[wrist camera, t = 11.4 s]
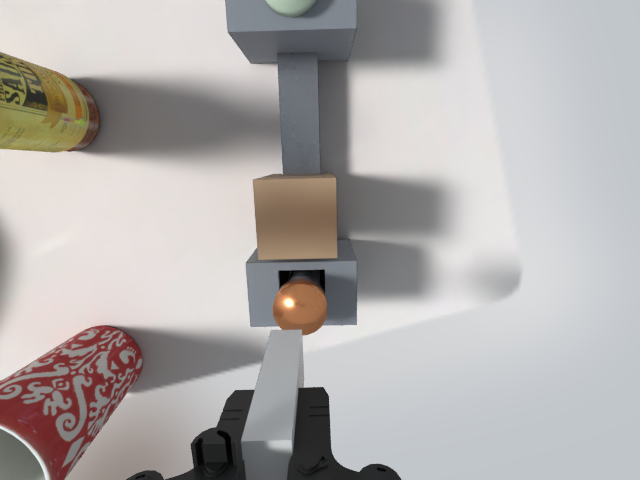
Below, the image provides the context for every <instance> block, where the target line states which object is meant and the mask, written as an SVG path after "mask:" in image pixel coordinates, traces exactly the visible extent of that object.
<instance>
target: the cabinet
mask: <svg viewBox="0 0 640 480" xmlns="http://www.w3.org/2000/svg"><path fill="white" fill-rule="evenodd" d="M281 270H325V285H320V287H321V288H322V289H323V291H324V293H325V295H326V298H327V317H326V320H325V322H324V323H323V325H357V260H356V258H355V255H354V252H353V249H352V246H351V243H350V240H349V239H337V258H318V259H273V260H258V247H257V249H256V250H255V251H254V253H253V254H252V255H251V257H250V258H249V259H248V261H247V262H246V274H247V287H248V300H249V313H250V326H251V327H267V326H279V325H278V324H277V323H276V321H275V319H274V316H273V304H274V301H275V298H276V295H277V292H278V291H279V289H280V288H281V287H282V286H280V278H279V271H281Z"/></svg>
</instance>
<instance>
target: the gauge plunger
mask: <svg viewBox="0 0 640 480" xmlns="http://www.w3.org/2000/svg"><path fill="white" fill-rule="evenodd" d="M273 316H274V319H275V321H276V323H277V324H278V325H279V327H280V328H281V329H283V330H302V335H308V334H311V333H313V332H315V331H317V330H318V329H319V328H320V327H321V326H322V325H323V323H324V322H325V320H326V317H327V298H326V295H325V293H324V291H323V289H322V288H321V287H320V270H291V272H290V275H289V279H288V282H287V283H285V284H284V285H283V286H282V287H281V288H280V289H279V291H278V292H277V295H276V298H275V301H274V304H273Z"/></svg>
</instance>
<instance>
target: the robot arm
mask: <svg viewBox="0 0 640 480" xmlns="http://www.w3.org/2000/svg"><path fill="white" fill-rule="evenodd" d="M303 386H304V367H303V343H302V330H271V332H270V336H269V339H268V343H267V347H266V350H265V354H264V358H263V361H262V365H261V369H260V373H259V376H258V380H257V384H256V388H255V390H235V391H234V392H233V394H232V395H231V396H230V397H229V398H228V399H227V401H226V403H225V406H224V408H223V412H222V414H221V416H220V420H219V422H218V425H217V427H215V428H210V429H208V430H206V431H203V432H202V433H201V434H199V435H198V436H197V437H196V438H195V439H194V440H193V442H192V443H191V450H192V457H193V464H194V468H193V469H192V470H190V471H188V472H186V473H184V474H181V475H179V476H175V477H173V478H169V479H166V480H401V478H400V477H399V475H398V474H397V473H396V472H395V471H394V470H393V469H391V468H390V467H388V466H385V465H382V464H370V465H368V466H366V467H364V468H363V469H362V470H361V471H360V472H356V471H353V470H350V469H347V468H345V467H343V466H342V465H340V464H339V463H338V462H337V461H336V460H335V458H334V456H333V454H332V451H331V439H330V438H331V437H330V415H329V414H330V413H329V396H328V394H327V392H326V391H325V389H324V388H323V387H313V388H303ZM127 480H164V479H163V477H162V475H161V474H160V473H158V472H156V471H143V472H140V473H137V474H135V475H133V476H131V477H130V478H128V479H127Z"/></svg>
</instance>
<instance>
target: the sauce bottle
mask: <svg viewBox="0 0 640 480" xmlns="http://www.w3.org/2000/svg"><path fill="white" fill-rule="evenodd" d="M99 122H100V121H99V113H98V109H97V107H96V104H95V102H94V100H93V98H92V97H91V95H90V94H89V93H88V92H87V91H86V89H85V88H84V87H83V86H81V85H80V84H78V83H76V82H75V81H73V80H71V79H69V78H68V77H66V76H65V75H63V74H60V73H58V72H56V71H53V70H50V69H47V68H44V67H41V66H38V65H36V64H33V63H30V62H27V61H24V60H21V59H18V58H15V57H13V56H10V55H7V54H4V53H1V52H0V149H12V150H28V151H43V152H62V151H68V152H71V151H77V150H79V149H82V148H84V147H85V146H87V145H89V144H90V143H91V141H92V140H93V139H94V138H95V136H96V134H97V132H98V129H99Z"/></svg>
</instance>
